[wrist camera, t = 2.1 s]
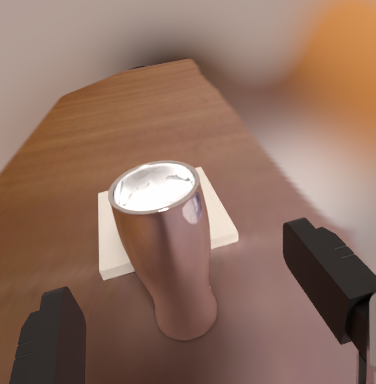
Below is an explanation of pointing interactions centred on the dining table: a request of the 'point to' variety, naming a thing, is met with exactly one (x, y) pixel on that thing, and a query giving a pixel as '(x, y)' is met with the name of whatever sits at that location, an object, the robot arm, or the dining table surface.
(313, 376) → the dining table surface
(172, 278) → the shiny silver metal cup
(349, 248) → the robot arm
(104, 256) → the ceramic tile
